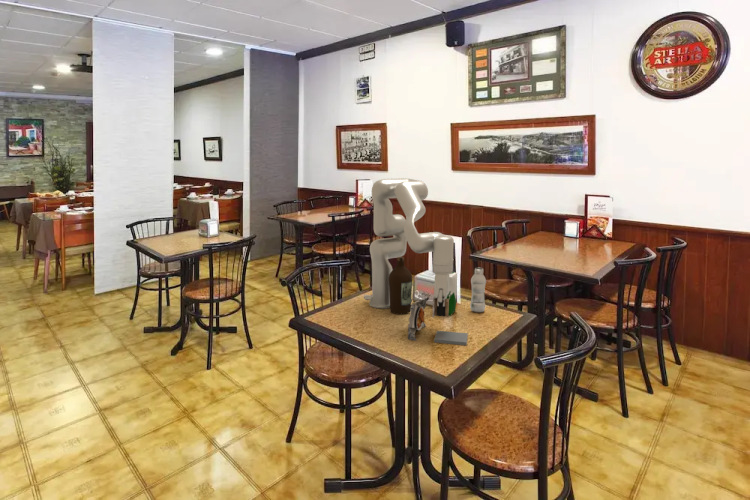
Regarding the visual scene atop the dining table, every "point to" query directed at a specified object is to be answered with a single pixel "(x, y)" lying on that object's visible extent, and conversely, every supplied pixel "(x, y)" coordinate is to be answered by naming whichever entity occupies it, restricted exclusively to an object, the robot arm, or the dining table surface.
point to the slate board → (451, 337)
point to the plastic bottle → (478, 291)
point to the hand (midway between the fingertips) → (441, 313)
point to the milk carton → (452, 292)
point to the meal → (416, 318)
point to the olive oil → (400, 288)
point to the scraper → (436, 307)
